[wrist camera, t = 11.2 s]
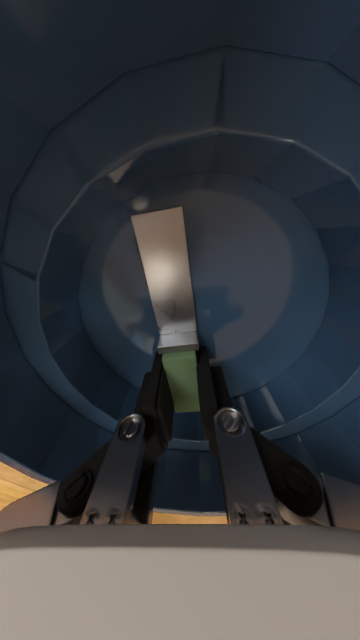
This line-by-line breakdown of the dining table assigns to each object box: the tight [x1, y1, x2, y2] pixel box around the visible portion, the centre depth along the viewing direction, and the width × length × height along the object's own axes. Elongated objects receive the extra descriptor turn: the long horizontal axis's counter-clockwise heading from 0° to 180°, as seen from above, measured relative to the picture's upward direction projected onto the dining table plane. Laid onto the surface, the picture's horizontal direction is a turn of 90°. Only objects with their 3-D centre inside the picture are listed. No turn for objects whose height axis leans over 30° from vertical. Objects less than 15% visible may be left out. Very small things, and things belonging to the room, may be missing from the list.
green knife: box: [131, 206, 200, 413], centre depth 9 cm, size 11×2×2 cm, turn 8°
